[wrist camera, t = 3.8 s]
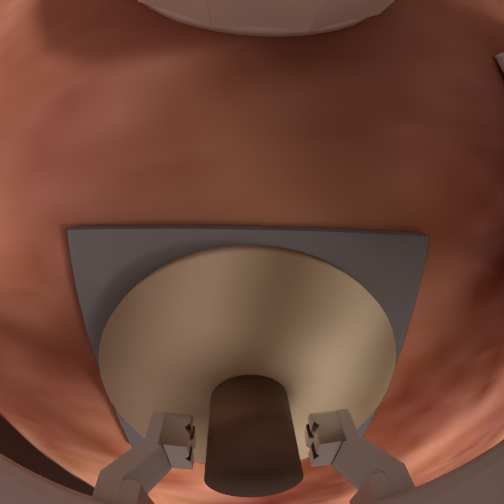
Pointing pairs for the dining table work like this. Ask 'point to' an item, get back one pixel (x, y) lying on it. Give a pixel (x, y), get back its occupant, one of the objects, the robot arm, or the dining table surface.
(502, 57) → the tea box
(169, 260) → the mat
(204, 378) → the lid
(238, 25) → the bowl
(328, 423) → the robot arm
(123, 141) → the dining table surface
